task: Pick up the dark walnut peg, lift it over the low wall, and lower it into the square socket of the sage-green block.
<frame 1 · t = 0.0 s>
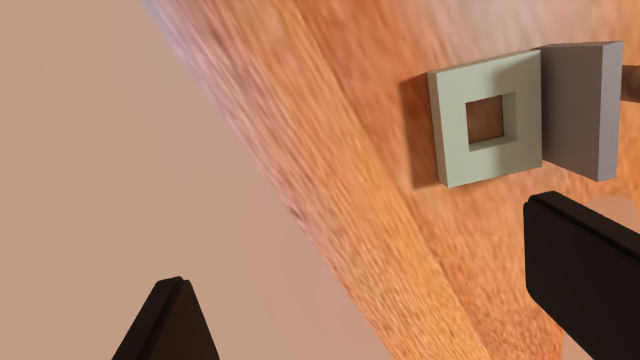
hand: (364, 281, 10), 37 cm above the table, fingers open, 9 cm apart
socket block: (479, 118, 47), on the table
low wall: (545, 103, 47), on the table
walnut peg: (607, 81, 47), on the table
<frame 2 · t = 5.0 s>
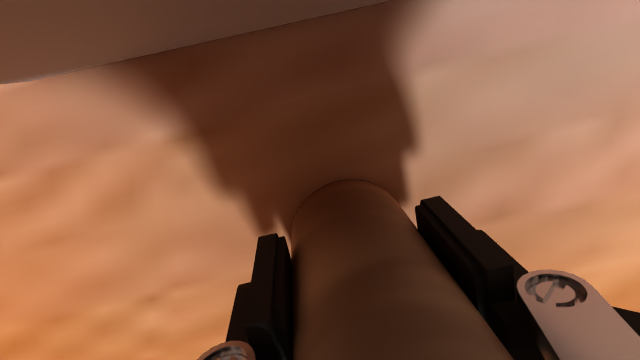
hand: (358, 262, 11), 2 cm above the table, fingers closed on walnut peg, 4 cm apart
walnut peg: (349, 234, 13), on the table, touching gripper
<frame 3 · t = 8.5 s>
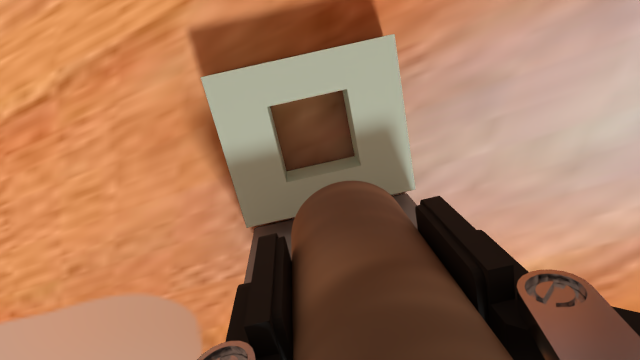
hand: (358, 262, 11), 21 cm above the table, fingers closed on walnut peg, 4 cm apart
socket block: (313, 129, 31), on the table
low wall: (333, 220, 34), on the table
walnut peg: (349, 235, 13), point 19 cm above the table, touching gripper
when the fingers open (4 cm above the table, at t = 12.4 s): walnut peg drops 2 cm, resting in socket block.
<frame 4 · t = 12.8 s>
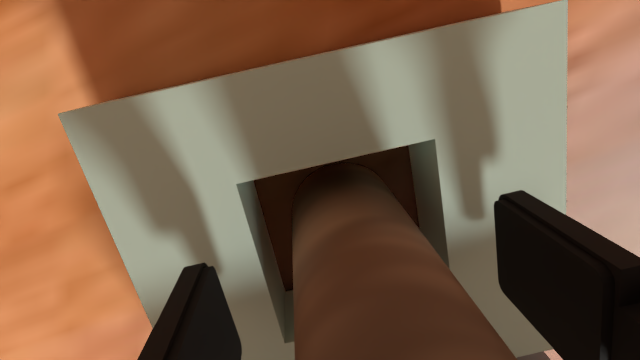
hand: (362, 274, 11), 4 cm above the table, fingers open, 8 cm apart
socket block: (341, 212, 15), on the table
walnut peg: (342, 211, 15), resting in socket block
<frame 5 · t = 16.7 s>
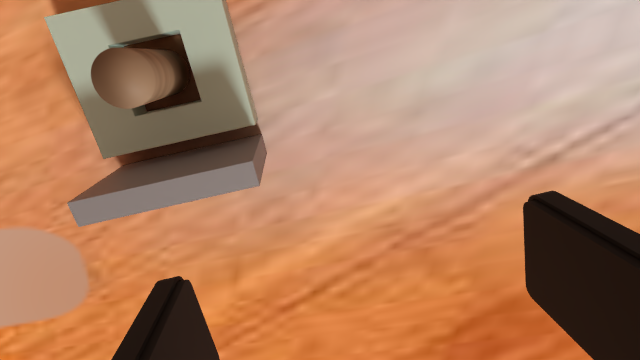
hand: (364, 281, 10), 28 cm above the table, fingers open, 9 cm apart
socket block: (167, 72, 35), on the table
low wall: (196, 159, 37), on the table
walnut peg: (167, 72, 35), resting in socket block
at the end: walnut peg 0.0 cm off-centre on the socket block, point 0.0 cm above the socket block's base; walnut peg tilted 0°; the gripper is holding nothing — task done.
